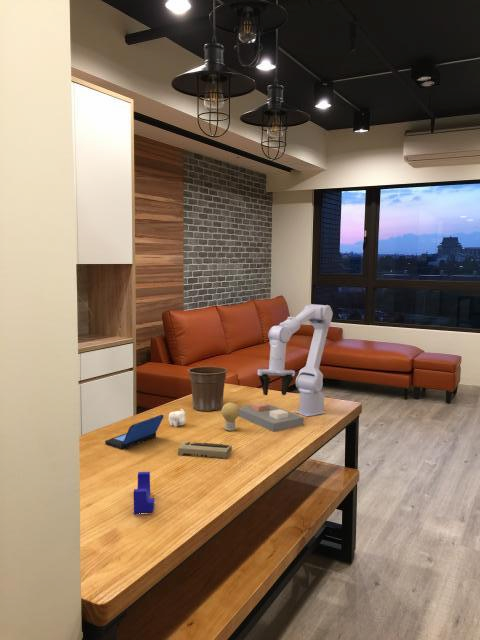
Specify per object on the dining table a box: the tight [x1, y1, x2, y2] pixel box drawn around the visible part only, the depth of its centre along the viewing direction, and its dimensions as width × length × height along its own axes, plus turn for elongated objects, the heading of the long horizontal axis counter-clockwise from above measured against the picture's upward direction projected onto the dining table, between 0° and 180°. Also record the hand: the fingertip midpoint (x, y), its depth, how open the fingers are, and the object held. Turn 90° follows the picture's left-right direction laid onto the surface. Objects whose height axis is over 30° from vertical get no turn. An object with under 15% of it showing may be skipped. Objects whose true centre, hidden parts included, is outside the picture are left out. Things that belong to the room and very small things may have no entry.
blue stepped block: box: [133, 471, 155, 515], centre depth 134 cm, size 12×4×6 cm, turn 5°
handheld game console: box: [104, 414, 164, 450], centre depth 179 cm, size 16×13×9 cm
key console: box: [238, 402, 305, 433], centre depth 205 cm, size 14×24×3 cm, turn 34°
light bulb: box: [221, 402, 240, 432], centre depth 192 cm, size 6×6×10 cm
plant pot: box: [187, 365, 228, 412], centre depth 221 cm, size 16×16×16 cm
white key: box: [269, 408, 289, 419], centre depth 200 cm, size 5×5×3 cm
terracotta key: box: [250, 401, 270, 412], centre depth 209 cm, size 5×5×3 cm
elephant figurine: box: [168, 408, 187, 428], centre depth 197 cm, size 7×8×6 cm
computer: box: [177, 441, 233, 460], centre depth 170 cm, size 16×8×3 cm, turn 79°
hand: (274, 394), depth 198 cm, fingers open, 7 cm apart
